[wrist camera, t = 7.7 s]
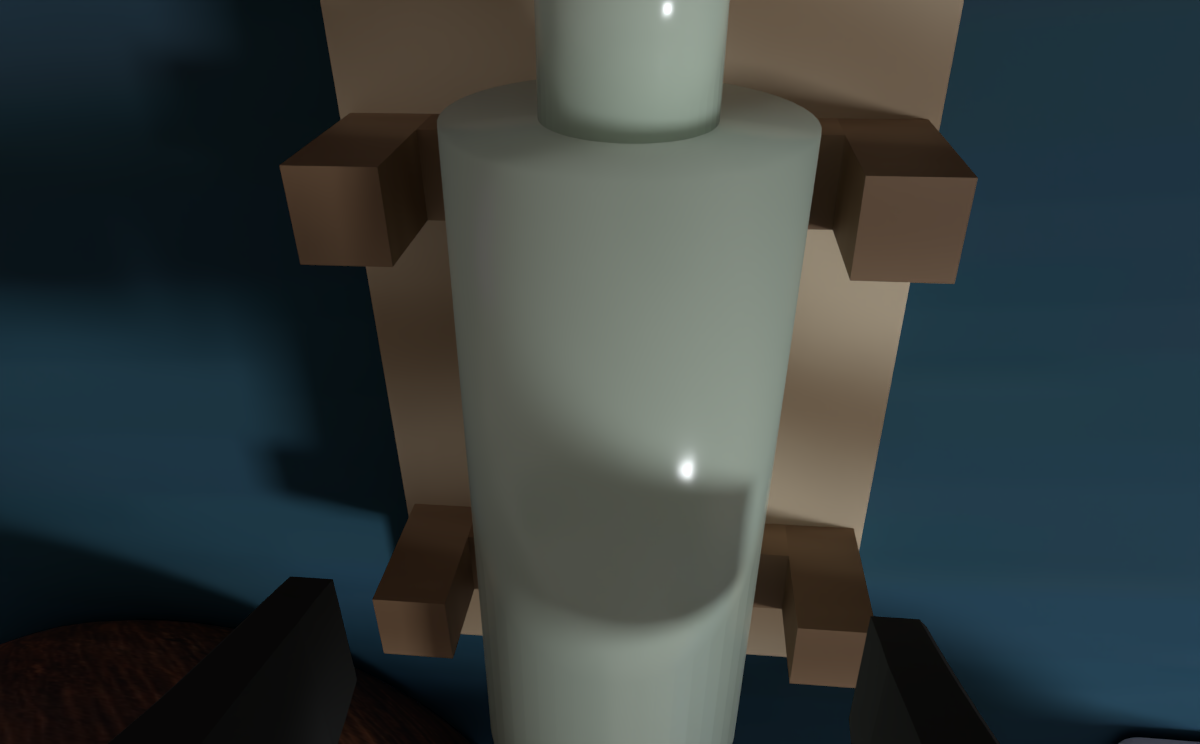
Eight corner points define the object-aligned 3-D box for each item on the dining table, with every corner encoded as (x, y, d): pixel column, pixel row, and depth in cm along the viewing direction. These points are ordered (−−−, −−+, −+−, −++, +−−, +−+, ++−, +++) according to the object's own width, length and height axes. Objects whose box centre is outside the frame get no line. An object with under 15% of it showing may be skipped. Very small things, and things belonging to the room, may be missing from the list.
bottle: (723, 616, 20) (748, 829, 15) (506, 610, 20) (472, 819, 15) (821, -199, 11) (935, -229, 7) (451, -203, 12) (348, -233, 7)
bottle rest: (832, 629, 22) (856, 771, 19) (438, 602, 23) (392, 732, 20) (958, -67, 14) (1043, -41, 10) (333, -62, 15) (221, -36, 11)
